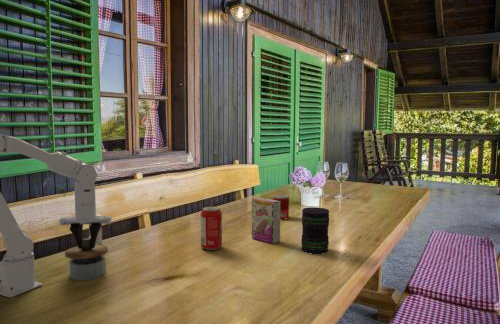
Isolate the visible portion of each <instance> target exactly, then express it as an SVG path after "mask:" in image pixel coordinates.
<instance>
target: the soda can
mask: <svg viewBox="0 0 500 324" xmlns="http://www.w3.org/2000/svg"><path fill="white" fill-rule="evenodd" d="M222 245H223V212H222V211H221V207H218V206H205V207H202V210H201V212H200V247H201V248H202V249H204V250H205V249H206V251H217V250H219V249H221V247H222ZM216 249H217V250H216Z"/></svg>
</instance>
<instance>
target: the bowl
mask: <svg viewBox="0 0 500 324" xmlns="http://www.w3.org/2000/svg"><path fill="white" fill-rule="evenodd" d="M106 265H107V264H106V256H105V255H102V256H99V257H94V258H89V259H69V260H68V276H69V278H70V279H71V280H75V281H88V280H93V279H97V278H99V277H102V276H104V275H105V274H106V273H107V271H106V268H107V267H106Z"/></svg>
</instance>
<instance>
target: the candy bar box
mask: <svg viewBox="0 0 500 324" xmlns="http://www.w3.org/2000/svg"><path fill="white" fill-rule="evenodd" d="M280 207H281V201H276V200H273V199H269V198H264V197H255V198H251V239H252V238H253V240H257V241H259V240H260V241H259V242H263V241H264V242H263V243H266V242H268V243H267V244H270V243H271V244H270V245H275V244H277V242H278V243H280V242H281V220H280ZM274 243H275V244H274Z"/></svg>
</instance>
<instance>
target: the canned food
mask: <svg viewBox="0 0 500 324" xmlns="http://www.w3.org/2000/svg"><path fill="white" fill-rule="evenodd" d="M272 200H276V201H281V207H280V219H285V218H288V219H289V217H290V196H289V195H286V194H275V195H273V196H272ZM285 220H286V219H285Z"/></svg>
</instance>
